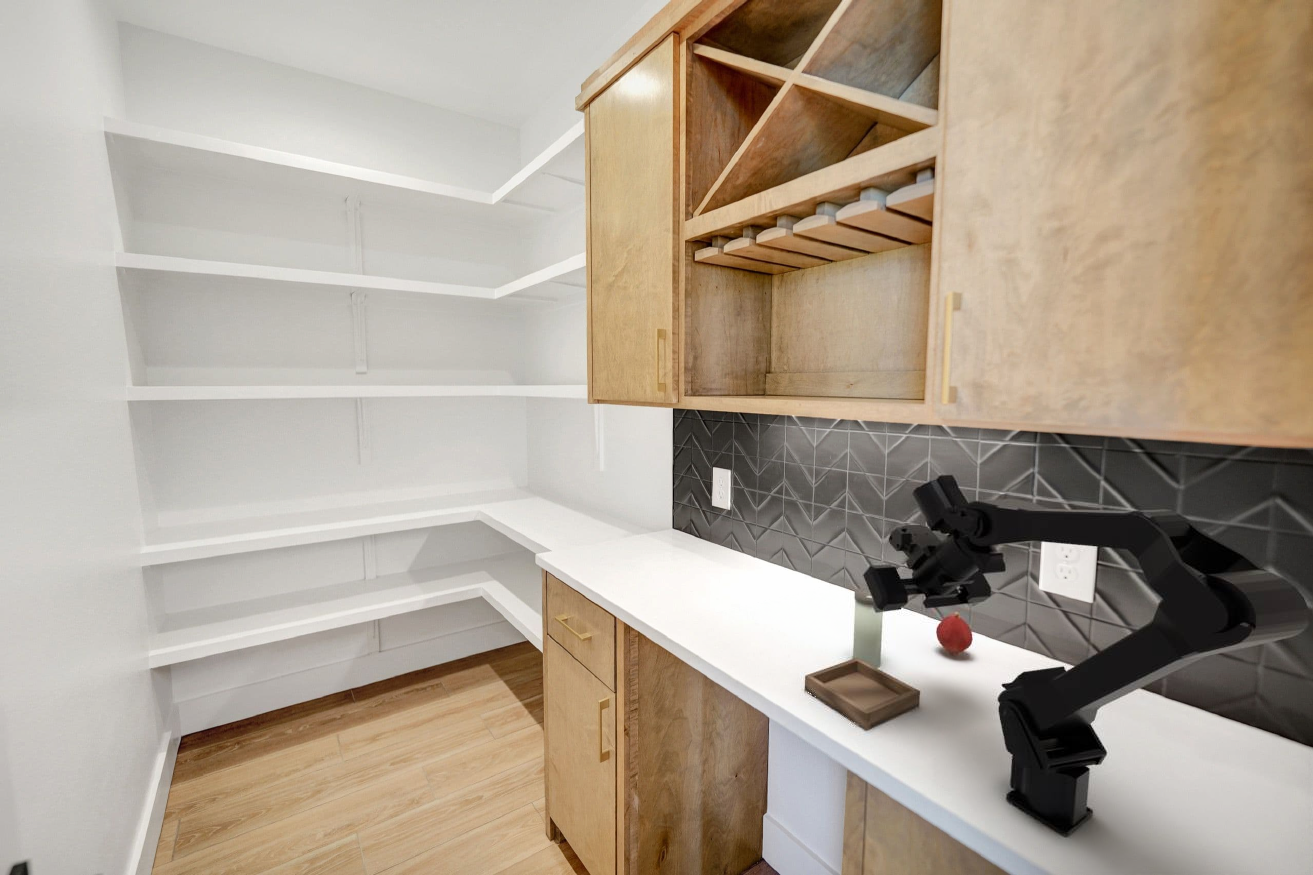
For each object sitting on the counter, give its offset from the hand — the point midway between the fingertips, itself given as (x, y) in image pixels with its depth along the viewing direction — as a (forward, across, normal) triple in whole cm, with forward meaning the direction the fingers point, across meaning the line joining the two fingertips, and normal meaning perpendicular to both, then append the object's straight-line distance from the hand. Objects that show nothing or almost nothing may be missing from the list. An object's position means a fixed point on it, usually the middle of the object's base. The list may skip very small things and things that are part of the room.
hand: (900, 607), depth 91 cm
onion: (+14, -17, +4) cm, 23 cm away
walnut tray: (+8, +8, +11) cm, 16 cm away
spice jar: (+15, 0, +3) cm, 16 cm away
